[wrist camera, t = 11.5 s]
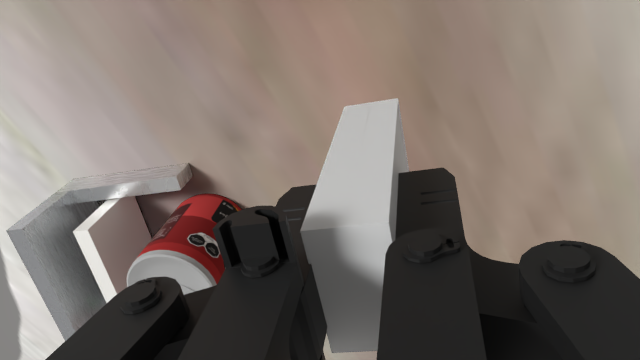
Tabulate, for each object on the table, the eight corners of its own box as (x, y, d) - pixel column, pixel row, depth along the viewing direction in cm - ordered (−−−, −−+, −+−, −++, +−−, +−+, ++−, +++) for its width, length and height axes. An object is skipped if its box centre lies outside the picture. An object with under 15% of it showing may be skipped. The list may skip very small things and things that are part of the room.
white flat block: (118, 189, 53) (72, 231, 46) (131, 187, 52) (87, 229, 45) (161, 294, 58) (127, 346, 51) (173, 293, 58) (140, 345, 51)
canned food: (257, 256, 54) (223, 329, 44) (185, 254, 55) (136, 325, 46) (247, 190, 51) (208, 255, 41) (170, 190, 52) (115, 252, 42)
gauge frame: (73, 178, 53) (6, 230, 44) (188, 163, 50) (140, 215, 41) (122, 288, 59) (72, 353, 50) (228, 279, 56) (194, 347, 47)
